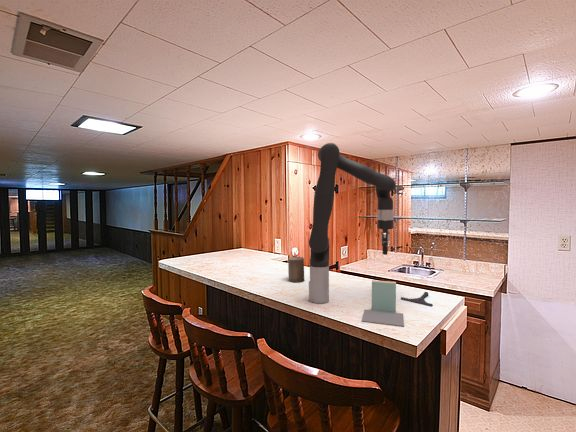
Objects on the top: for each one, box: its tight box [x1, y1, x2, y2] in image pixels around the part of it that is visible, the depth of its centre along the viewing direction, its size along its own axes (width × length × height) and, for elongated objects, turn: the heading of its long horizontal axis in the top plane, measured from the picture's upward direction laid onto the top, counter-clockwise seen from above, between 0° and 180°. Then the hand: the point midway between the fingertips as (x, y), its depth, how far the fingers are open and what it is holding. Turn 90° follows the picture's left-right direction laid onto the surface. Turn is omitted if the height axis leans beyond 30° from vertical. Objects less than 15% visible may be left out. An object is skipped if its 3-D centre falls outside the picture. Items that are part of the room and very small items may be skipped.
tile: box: [371, 279, 397, 313], centre depth 132 cm, size 10×2×13 cm, turn 70°
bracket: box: [400, 291, 434, 308], centre depth 147 cm, size 14×15×3 cm
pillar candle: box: [287, 256, 305, 283], centre depth 183 cm, size 10×10×15 cm
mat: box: [361, 309, 405, 328], centre depth 124 cm, size 16×13×1 cm
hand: (385, 253), depth 147 cm, fingers open, 6 cm apart
